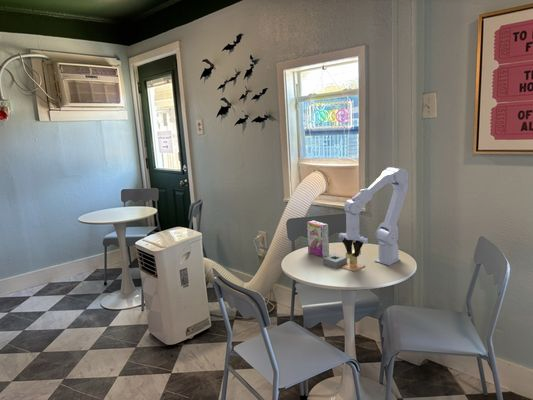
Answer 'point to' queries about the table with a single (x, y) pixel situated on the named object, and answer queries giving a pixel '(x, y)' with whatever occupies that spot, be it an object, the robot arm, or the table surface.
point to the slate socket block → (335, 260)
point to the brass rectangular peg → (352, 258)
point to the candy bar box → (318, 238)
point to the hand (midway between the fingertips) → (353, 255)
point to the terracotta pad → (352, 267)
